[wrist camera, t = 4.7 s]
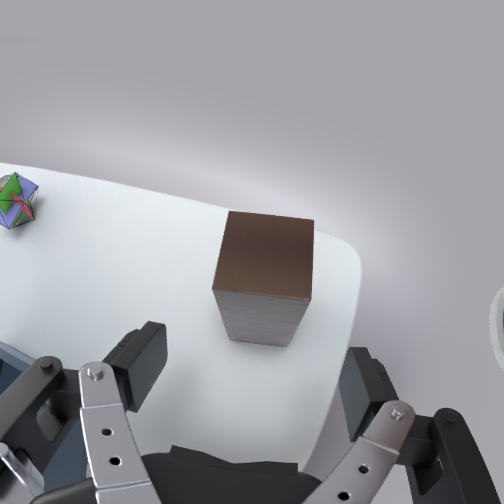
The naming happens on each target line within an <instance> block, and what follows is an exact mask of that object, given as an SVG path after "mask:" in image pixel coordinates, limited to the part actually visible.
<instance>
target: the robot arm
mask: <svg viewBox="0 0 504 504" xmlns="http://www.w3.org/2000/svg"><path fill="white" fill-rule="evenodd" d="M503 328H504V312H503ZM167 355H168V352H167V336H166V326H165V324H162V323H157V322H152V321H148V322H147V323H146V324H145V325H144V326H143V327H142V328H141V329H140V330H138V329H136V330H134V331H132V332H130V333H128V334H126V336H125V337H124V338H123V339H122V341H120V342H119V343H118V344H117V346H115V347H114V349H113V350H112V351H111V352H110V353H109V354H108V355H107V356H106V357H105V358H104V360H103V361H102V362H91V363H88V364H85V365H84V366H83V367H81V369H80V370H79V371H78V370H69V369H63V366H62V363H61V361H60V360H59V359H58V358H56V357H53V356H45V357H41V358H39V359H37V360H36V361H35V362H33V363H32V364H31V365H30V366H29V367H28V368H27V369H26V370H25V371H24V372H23V373H22V374H21V375H20V376H19V377H18V378H17V379H16V380H15V381H14V382H13V383H12V384H11V385H10V386H9V387H8V388H7V389H6V390H5V391H4V392H3V393H2V394H1V395H0V504H370V503H371V501H372V500H373V498H374V497H375V495H376V494H377V492H378V491H379V489H380V487H381V486H382V484H383V482H384V481H385V479H386V477H387V476H388V474H389V472H390V471H391V469H392V467H393V465H394V464H399V465H405V468H406V472H407V476H408V481H409V485H410V489H411V495H412V500H413V504H501V502H500V500H499V497H498V494H497V492H496V489H495V486H494V484H493V481H492V479H491V476H490V474H489V471H488V469H487V467H486V465H485V462H484V460H483V458H482V456H481V453H480V451H479V449H478V447H477V445H476V442H475V440H474V438H473V436H472V434H471V432H470V430H469V428H468V426H467V424H466V422H465V420H464V418H463V417H462V415H461V414H460V413H459V412H457V411H456V410H454V409H450V408H442V409H439V410H438V411H437V412H436V413H435V415H434V416H433V417H427V416H420V415H416V414H415V411H414V409H413V408H412V407H411V406H410V405H409V404H407V403H405V402H403V401H399V398H398V397H397V394H396V392H395V389H394V387H393V385H392V383H391V381H390V378H389V376H388V375H387V372H386V370H385V368H384V366H383V365H382V364H381V363H380V362H379V361H378V360H377V359H371V356H370V354H369V352H368V350H367V348H365V347H349V349H348V351H347V354H346V357H345V361H344V364H343V367H342V370H341V374H340V378H339V389H340V394H341V398H342V403H343V407H344V412H345V417H346V422H347V427H348V431H349V436H350V442H355V443H354V444H353V446H352V447H351V448H350V449H349V451H348V452H347V453H346V455H345V456H344V457H343V458H342V459H341V461H340V462H339V463H338V465H337V466H336V467H335V468H334V469H333V470H332V472H331V473H330V474H329V475H328V476H327V477H326V478H325V479H324V481H323V482H322V481H320V480H318V479H317V478H315V477H313V476H310V475H308V474H305V473H302V472H298V463H283V462H269V461H264V462H253V463H238V464H233V463H229V462H226V461H224V460H221V459H218V458H216V457H213V456H211V455H208V454H206V453H203V452H200V451H195V450H191V449H186V448H182V447H178V446H174V445H172V447H171V449H170V452H169V453H152V454H147V455H143V456H140V454H139V451H138V448H137V446H136V443H135V440H134V438H133V435H132V432H131V429H130V426H129V423H128V420H127V417H126V414H125V413H126V411H127V410H129V411H132V412H135V413H137V412H138V410H139V408H140V407H141V405H142V403H143V402H144V400H145V398H146V396H147V395H148V393H149V391H150V390H151V388H152V386H153V385H154V383H155V381H156V380H157V378H158V376H159V375H160V373H161V371H162V370H163V368H164V366H165V364H166V361H167ZM45 402H46V404H47V406H46V407H45V409H44V410H43V411H42V412H41V414H40V415H39V416H38V417H37V413H38V411H39V410H40V408H41V407H42V406H43V405H44V403H45ZM77 420H81V423H82V429H83V435H84V441H85V446H86V451H87V456H88V460H89V465H90V469H91V473H92V477H89V478H87V479H84V480H81V481H79V482H76V483H73V484H70V485H67V486H64V487H61V488H58V489H54V490H51V491H48V492H45V493H44V491H43V488H44V479H43V476H42V474H43V473H44V471H45V469H46V468H47V466H48V464H49V463H50V461H51V460H52V458H53V456H54V455H55V453H56V452H57V450H58V449H59V447H60V445H61V444H62V442H63V441H64V439H65V438H66V436H67V435H68V433H69V432H70V430H71V429H72V427H73V426H74V424H75V423H76V421H77ZM439 459H440V461H439ZM440 462H441V464H440ZM441 465H442V467H441ZM442 468H443V470H442Z"/></svg>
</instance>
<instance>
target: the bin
mask: <svg viewBox="0 0 504 504" xmlns="http://www.w3.org/2000/svg"><path fill="white" fill-rule="evenodd" d="M35 361H36V360H35V359H33V358H31V357H29V356H27V355H25V354H23V353H21V352H19V351H18V350H16V349H14V348H12V347H10V346H9V345H7V344H4V343H2V342H0V395H1V394H2V393H3V392H4V391H5V390H6V389H7V388H8V387H9V386H10V385H11V384H12V383H13V382H14V381H15V380H16V379H17V378H18V377H19V376H20V375H21V374H22V373H23V372H24V371H25V370H26V369H27V368H28V367H29V366H30V365H31V364H32V363H33V362H35ZM46 406H47V404H46V402H45V403H44V405H43V406H42V407H41V408H40V410H39V411H38V413H37V417H38V416H39V415H40V414H41V412H42V411H43V410H44V409H45V407H46ZM86 463H87V451H86V446H85V441H84V435H83V429H82V423H81V420H77V421H76V423H75V424H74V426H73V427H72V429H71V430H70V432H69V433H68V435H67V436H66V438H65V439H64V441H63V442H62V444H61V445H60V447H59V449H58V450H57V452H56V453H55V455H54V456H53V458H52V460H51V461H50V463H49V464H48V466H47V468H46V469H45V471H44V473H43V474H42V476H43V479H44V488H43V491H44V493H45V492H48V491H51V490H54V489H58V488H61V487H64V486H67V485H70V484H73V483H76V482H79V481H81V480H84V479H85V474H86Z"/></svg>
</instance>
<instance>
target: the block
mask: <svg viewBox="0 0 504 504" xmlns="http://www.w3.org/2000/svg"><path fill="white" fill-rule="evenodd" d="M313 244H314V220H310V219H301V218H293V217H284V216H275V215H265V214H256V213H246V212H236V211H229V213H228V217H227V222H226V226H225V230H224V235H223V239H222V244H221V248H220V253H219V257H218V262H217V267H216V271H215V276H214V281H213V285H212V290H213V293H214V296H215V299H216V302H217V305H218V308H219V311H220V314H221V316H222V319H223V322H224V325H225V328H226V331H227V333H228V336H229V339H230V340H234V341H241V342H249V343H257V344H265V345H274V346H283V347H287V346H288V344H289V342H290V340H291V338H292V337H293V335H294V333H295V331H296V329H297V327H298V325H299V323H300V321H301V319H302V317H303V315H304V313H305V311H306V309H307V307H308V305H309V303H310V301H311V294H312V273H313Z"/></svg>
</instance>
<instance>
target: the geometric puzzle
mask: <svg viewBox="0 0 504 504" xmlns="http://www.w3.org/2000/svg"><path fill="white" fill-rule="evenodd" d="M12 174H13V173H12ZM16 174H17V173H16V172H14V174H13V175H12V176H10V175H11V174H10V175H5V176H4V177H2V178H1V179H0V224H1V225H3V226H4V227H6V228H7V229H8V230H9V229H12V228H14V227H15V224H16V223H17V221H18V219H19V218H20V216H21V215H22V213H25V214H27V215H28V216H30V217H32V218H33V220H35V218H34V215H32V213H33V211H32V213H31V211H30V209H29V207H28V204H29V203H30V202H29V198H30V197H31V195H32V194H33V193H34V191H35V190H37V188H38V186H39V185H36V184H34V183H33V182H31V181H28V179H27V180H26V178H25V179H24V178H22V177H21V175H20V176H19V175H18V174H17V175H18V176H17V175H16ZM35 192H36V191H35ZM37 193H38V192H37ZM34 194H35V193H34ZM32 197H33V196H32ZM31 199H32V198H31ZM30 201H31V200H30ZM36 202H37V200H36ZM30 207H31V205H30ZM31 210H32V208H31ZM35 211H36V209H35ZM31 221H32V220H31ZM28 222H29V221H28ZM25 223H27V222H25ZM22 224H24V223H22ZM11 225H12V226H13V227H12V226H11ZM20 225H21V224H20ZM17 226H19V225H17ZM10 227H12V228H10Z"/></svg>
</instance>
